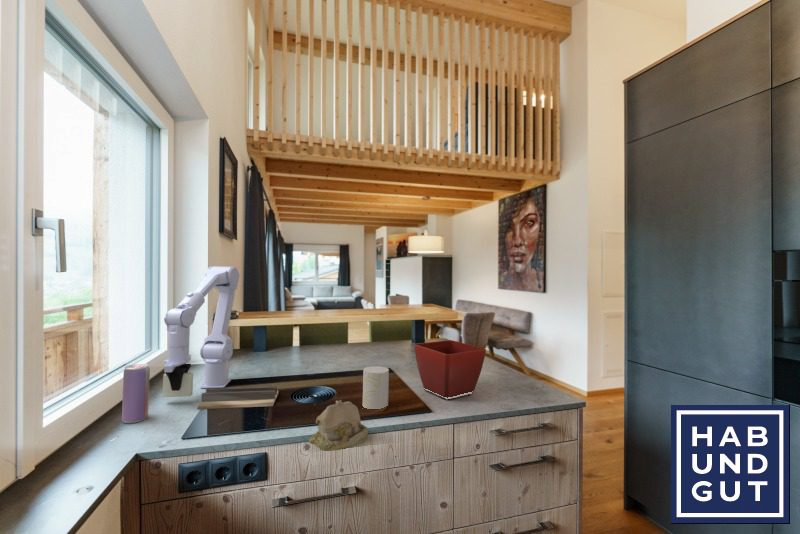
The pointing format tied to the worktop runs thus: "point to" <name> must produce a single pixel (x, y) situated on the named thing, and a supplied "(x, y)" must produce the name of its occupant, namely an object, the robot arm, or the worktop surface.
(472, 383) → the plant pot
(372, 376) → the white cylinder
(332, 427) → the ceramic model
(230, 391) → the base
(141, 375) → the beverage can
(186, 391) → the cream rectangular block
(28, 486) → the worktop surface
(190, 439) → the worktop surface
